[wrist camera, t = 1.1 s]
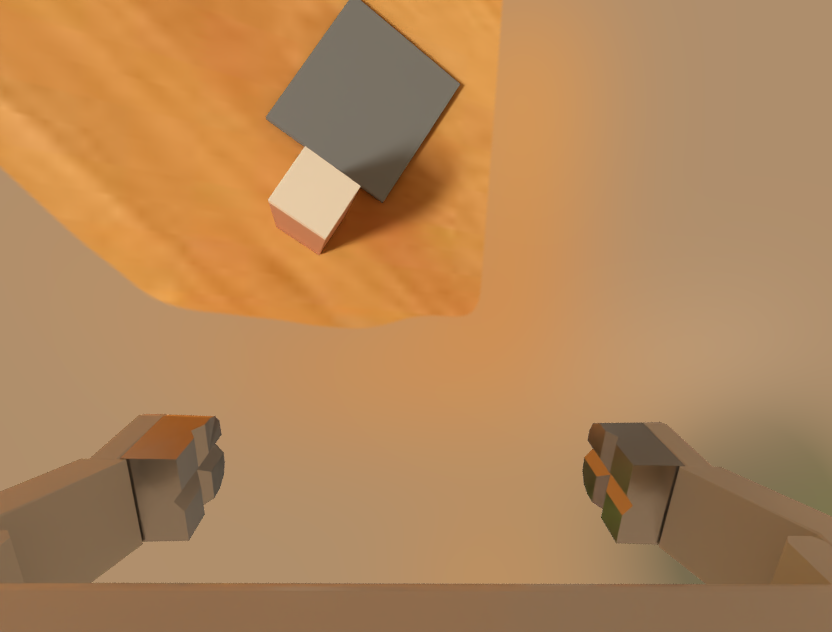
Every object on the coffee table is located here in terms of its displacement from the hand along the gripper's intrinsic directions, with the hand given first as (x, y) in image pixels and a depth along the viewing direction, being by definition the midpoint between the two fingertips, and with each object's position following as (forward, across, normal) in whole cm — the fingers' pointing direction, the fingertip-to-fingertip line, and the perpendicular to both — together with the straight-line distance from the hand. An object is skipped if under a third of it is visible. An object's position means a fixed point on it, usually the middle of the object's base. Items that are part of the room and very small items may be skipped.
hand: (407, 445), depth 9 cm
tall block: (+37, +10, -1) cm, 39 cm away
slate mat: (+42, +4, -13) cm, 45 cm away
